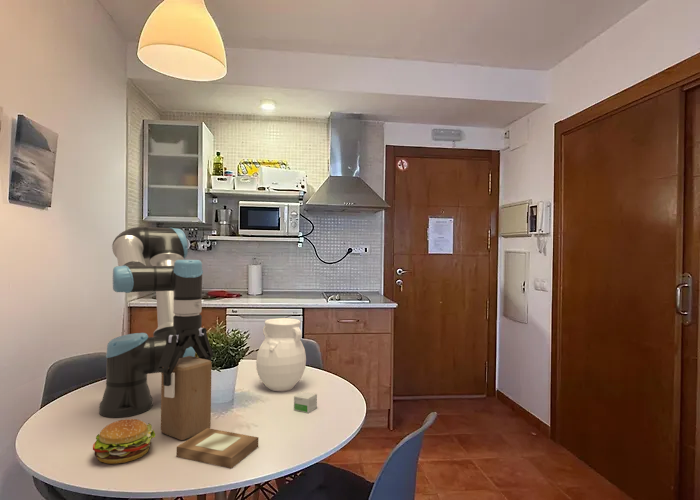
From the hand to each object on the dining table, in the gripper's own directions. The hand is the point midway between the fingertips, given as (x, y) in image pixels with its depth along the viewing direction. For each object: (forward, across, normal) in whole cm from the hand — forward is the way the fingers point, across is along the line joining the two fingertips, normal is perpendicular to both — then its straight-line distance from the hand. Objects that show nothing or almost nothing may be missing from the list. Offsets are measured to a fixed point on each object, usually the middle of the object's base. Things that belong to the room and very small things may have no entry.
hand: (186, 389), depth 123 cm
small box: (+12, +28, -24) cm, 39 cm away
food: (+12, -16, +5) cm, 21 cm away
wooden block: (+12, 0, 0) cm, 12 cm away
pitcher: (+12, +45, -6) cm, 47 cm away
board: (+12, -7, -16) cm, 21 cm away
